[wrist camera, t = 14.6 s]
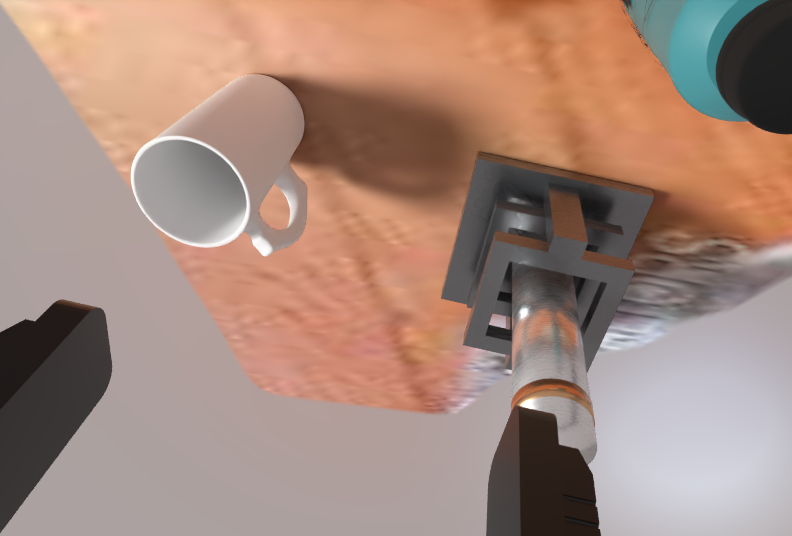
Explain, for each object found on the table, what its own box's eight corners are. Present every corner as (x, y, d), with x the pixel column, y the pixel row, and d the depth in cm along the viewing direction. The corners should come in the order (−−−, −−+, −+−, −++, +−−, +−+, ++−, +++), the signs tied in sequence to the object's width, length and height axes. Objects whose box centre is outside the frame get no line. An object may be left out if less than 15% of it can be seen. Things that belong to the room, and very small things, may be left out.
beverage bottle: (760, -31, 35) (987, 77, 18) (654, 55, 38) (765, 212, 21) (691, -127, 33) (874, -104, 16) (586, -28, 36) (650, 75, 20)
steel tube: (577, 234, 44) (610, 428, 29) (559, 281, 46) (581, 483, 31) (520, 221, 44) (524, 408, 29) (504, 268, 46) (501, 464, 32)
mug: (196, 108, 44) (106, 181, 34) (259, 47, 41) (180, 109, 31) (295, 210, 48) (239, 304, 38) (359, 162, 45) (316, 250, 35)
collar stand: (651, 189, 43) (677, 252, 36) (591, 322, 49) (604, 397, 43) (478, 151, 43) (472, 207, 36) (442, 289, 50) (431, 358, 43)
